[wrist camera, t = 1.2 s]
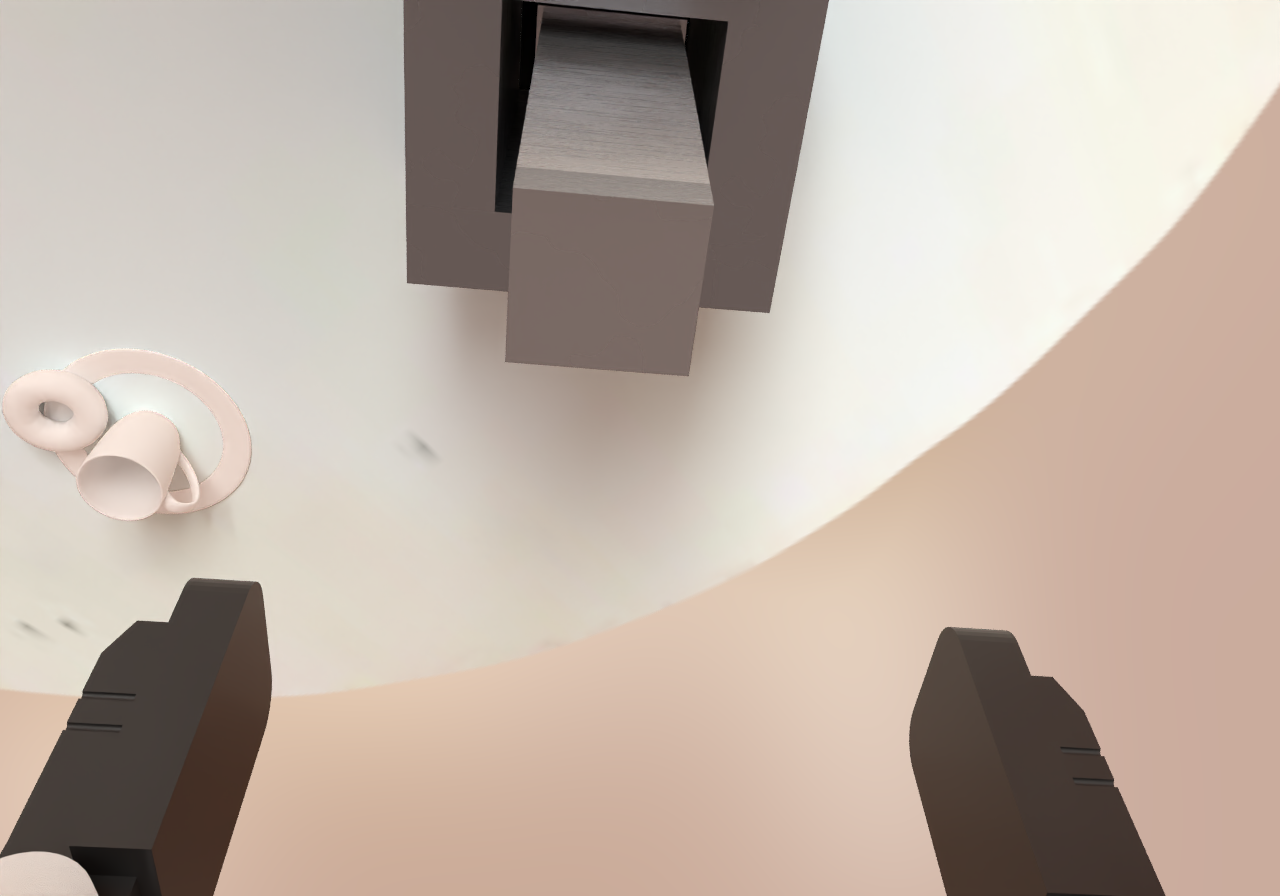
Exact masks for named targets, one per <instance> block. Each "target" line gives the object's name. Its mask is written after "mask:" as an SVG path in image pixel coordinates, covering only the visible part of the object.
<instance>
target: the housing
mask: <svg viewBox="0 0 1280 896" xmlns="http://www.w3.org/2000/svg"><path fill="white" fill-rule="evenodd" d="M523 1H532V2H542V3H551V4H561V5H571V6H581V7H591V8H600V9H610V10H620V11H630V12H640V13H649V14H659V15H669V16H679V17H689V18H691V19H690V27H689V35H688V43H687V51H686V56H687V61H688V67H689V72H690V77H691V83H692V88H693V94H694V99H695V105H696V110H697V115H698V121H699V126H700V132H701V137H702V143H703V148H704V153H705V159H706V164H707V170H708V175H709V181H710V186H711V192H712V197H713V202H714V210H713V216H712V223H711V230H710V236H709V243H708V250H707V256H706V263H705V270H704V276H703V283H702V290H701V296H700V303H699V307H703V308H715V309H727V310H739V311H752V312H764V313H770V307H771V302H772V297H773V292H774V286H775V281H776V276H777V270H778V265H779V260H780V255H781V249H782V244H783V239H784V234H785V228H786V223H787V218H788V213H789V207H790V202H791V197H792V192H793V186H794V181H795V176H796V171H797V165H798V160H799V155H800V150H801V144H802V139H803V134H804V129H805V123H806V118H807V113H808V108H809V102H810V97H811V92H812V86H813V81H814V76H815V71H816V65H817V60H818V55H819V50H820V44H821V39H822V34H823V29H824V23H825V18H826V13H827V8H828V2H829V0H404V78H405V157H406V235H407V283H412V284H424V285H436V286H448V287H460V288H472V289H484V290H497V291H508V289H509V266H510V243H511V220H512V197H513V184H514V178H515V173H516V167H517V161H518V155H519V149H520V144H521V138H522V132H523V126H524V120H525V115H526V109H527V103H528V97H529V92H530V90H524V89H519V75H520V53H521V30H522V8H523Z"/></svg>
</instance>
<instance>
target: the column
mask: <svg viewBox="0 0 1280 896" xmlns="http://www.w3.org/2000/svg"><path fill="white" fill-rule="evenodd" d="M686 27H687V17H679V16H669V15H659V14H649V13H640V12H630V11H620V10H610V9H600V8H591V7H581V6H571V5H561V4H551V3H542V2H538V11H537V31H536V50H535V63H534V68H533V74H532V80H531V86H530V92H529V97H528V103H527V109H526V115H525V120H524V126H523V132H522V138H521V144H520V149H519V155H518V161H517V167H516V173H515V178H514V184H513V197H512V220H511V243H510V266H509V289H508V312H507V335H506V358H505V362H513V363H526V364H538V365H551V366H564V367H577V368H590V369H603V370H616V371H629V372H642V373H654V374H667V375H680V376H689V369H690V363H691V356H692V349H693V343H694V336H695V329H696V323H697V316H698V310H699V303H700V296H701V290H702V283H703V276H704V270H705V263H706V256H707V250H708V243H709V236H710V230H711V223H712V216H713V210H714V202H713V197H712V192H711V186H710V181H709V175H708V170H707V164H706V159H705V153H704V148H703V143H702V137H701V132H700V126H699V121H698V115H697V110H696V105H695V99H694V94H693V88H692V83H691V77H690V72H689V67H688V61H687V56H686V50H685V45H684V43H685V35H686Z"/></svg>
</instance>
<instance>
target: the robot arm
mask: <svg viewBox="0 0 1280 896" xmlns="http://www.w3.org/2000/svg"><path fill="white" fill-rule="evenodd" d="M271 691H272V674H271V664H270V655H269V646H268V637H267V628H266V619H265V610H264V601H263V593H262V588H261V586H260V584H259V583H258V582H251V581H235V580H219V579H203V578H191V579H190V580H189V581H188V582H187V583H186V585H185V587H184V589H183V591H182V593H181V595H180V598H179V600H178V602H177V604H176V607H175V609H174V611H173V613H172V615H171V618H170V620H169V622H151V621H136V622H135V623H134V624H133V625H132V626H131V627H130V628H129V629H127V630H126V631H125V632H124V633H123V634H122V635H121V636H120V637H119V638H117V639H116V640H115V641H114V642H113V643H112V644H111V645H110V646H109V647H108V648H106V649H105V650H104V651H103V652H102V653H101V655H100V657H99V659H98V661H97V663H96V665H95V667H94V669H93V671H92V673H91V675H90V677H89V679H88V681H87V683H86V685H85V687H84V689H83V695H82V698H81V699H78V701H77V703H76V705H75V707H74V709H73V711H72V713H71V715H70V717H69V719H68V721H67V728H66V730H63V731H62V733H61V735H60V737H59V739H58V741H57V743H56V745H55V747H54V749H53V751H52V753H51V755H50V757H49V760H48V761H47V763H46V765H45V767H44V769H43V772H42V773H41V775H40V778H39V779H38V781H37V783H36V785H35V787H34V790H33V791H32V793H31V795H30V797H29V799H28V802H27V803H26V805H25V808H24V809H23V811H22V814H21V815H20V818H19V819H18V821H17V823H16V825H15V828H14V829H13V832H12V834H11V836H10V838H9V840H8V842H7V844H6V845H5V847H4V849H3V850H2V852H1V854H0V896H213V894H214V891H215V888H216V885H217V882H218V878H219V875H220V872H221V869H222V865H223V862H224V859H225V856H226V853H227V849H228V846H229V843H230V840H231V837H232V834H233V830H234V827H235V824H236V821H237V818H238V815H239V811H240V808H241V805H242V802H243V798H244V796H245V792H246V789H247V786H248V783H249V780H250V776H251V773H252V770H253V767H254V763H255V760H256V757H257V754H258V751H259V748H260V745H261V741H262V738H263V735H264V731H265V728H266V724H267V720H268V714H269V709H270V701H271ZM909 736H910V737H909V742H910V743H909V746H910V757H911V763H912V767H913V771H914V775H915V779H916V783H917V786H918V789H919V794H920V797H921V801H922V805H923V808H924V812H925V816H926V819H927V823H928V827H929V831H930V835H931V838H932V842H933V846H934V850H935V853H936V857H937V861H938V865H939V868H940V872H941V876H942V879H943V883H944V887H945V891H946V894H947V896H1165V894H1164V891H1163V889H1162V887H1161V884H1160V882H1159V880H1158V878H1157V876H1156V873H1155V871H1154V869H1153V866H1152V864H1151V862H1150V860H1149V857H1148V855H1147V853H1146V850H1145V848H1144V846H1143V844H1142V842H1141V839H1140V837H1139V835H1138V832H1137V830H1136V828H1135V826H1134V823H1133V821H1132V819H1131V817H1130V814H1129V812H1128V810H1127V807H1126V805H1125V803H1124V801H1123V798H1122V796H1121V794H1120V792H1119V789H1118V788H1117V787H1114V778H1113V776H1112V774H1111V771H1110V769H1109V767H1108V765H1107V762H1106V760H1105V758H1104V756H1101V755H1100V746H1099V744H1098V742H1097V740H1096V737H1095V735H1094V733H1093V730H1092V728H1091V726H1090V724H1089V722H1088V719H1087V717H1086V715H1085V712H1084V711H1083V710H1082V709H1081V707H1080V706H1079V705H1078V704H1077V703H1076V702H1075V701H1074V700H1073V699H1072V698H1071V697H1070V695H1068V693H1067V692H1066V691H1065V690H1064V689H1063V688H1062V687H1061V686H1060V685H1059V684H1058V683H1057V682H1056V681H1055V679H1054V678H1053V677H1043V676H1031V675H1030V672H1029V669H1028V667H1027V665H1026V662H1025V660H1024V657H1023V655H1022V652H1021V650H1020V647H1019V645H1018V642H1017V640H1016V638H1015V637H1014V636H1013V634H1012V633H1010V632H1009V631H1004V630H989V629H988V630H987V629H972V628H956V627H947V628H945V629H944V630H943V631H942V632H941V634H940V636H939V638H938V641H937V644H936V647H935V649H934V652H933V655H932V658H931V661H930V664H929V667H928V670H927V673H926V675H925V678H924V681H923V684H922V687H921V690H920V693H919V695H918V698H917V701H916V704H915V707H914V710H913V714H912V718H911V724H910V734H909Z"/></svg>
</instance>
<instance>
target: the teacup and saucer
mask: <svg viewBox="0 0 1280 896" xmlns="http://www.w3.org/2000/svg"><path fill="white" fill-rule="evenodd" d="M123 373H143V374H149V375H154V376H158V377H162V378H165V379H167V380H170V381H172V382H175V383H177V384H179V385H181V386H182V387H184V388H186V389H187V390H189V391H190V392H192V393H193V394H194V395H196V396H197V397H198V398H199V399H200V400H201V401H202V402H203V403H204V404H205V405H206V406H207V407H208V408H209V409H210V411H211V412H212V413H213V415H214V417H215V418H216V420H217V422H218V424H219V426H220V429H221V432H222V437H223V453H222V457H221V460H220V463H219V465H218V467H217V468H216V470H215V471H214V472H213V473H212V474H211V475H210V476H209V477H208V478H207V479H206V480H204V481H203V482H201V483H199V482H198V479H197V476H196V474H195V472H194V470H193V468H192V466H191V464H190V463H189V461H188V460H187V458H186V457H185V456H184V454H183V453H182V452H181V450H180V438H179V434H178V431H177V428H176V427H175V425H174V424H173V423H172V422H171V421H170V420H169V419H168V418H167V417H165V416H164V415H162V414H159V413H157V412H153V411H137V412H133V413H131V414H128V415H126V416H125V417H123V418H121V419H120V420H119V421H117V422H116V423H115V424H114V425H113V426H112V427H111V428H110V429H109V430H108V431H107V432H106V433H105V435H104V436H103V437H102V438H101V439H100V441H99V442H98V443H97V445H96V446H95V447H94V449H93V450H92V451H91V452H90V454H89V455H88V454H87V453H86V451H85V450H84V447H87V446H89V445H90V444H92V443H94V442H95V441H96V440H97V439H98V438H99V437H100V436H101V435H102V433H103V432H104V430H105V428H106V426H107V423H108V410H107V406H106V403H105V401H104V398H103V397H102V395H101V394H100V392H99V391H98V390H97V389H96V388H95V387H94V386H93V385H92V384H94V383H95V382H97V381H99V380H101V379H103V378H106V377H109V376H112V375H116V374H123ZM43 402H45V404H44V415H42V414H41V412H40V411H39V405H40V404H41V403H43ZM2 408H3V414H4V418H5V420H6V422H7V424H8V425H9V427H10V428H11V430H12V431H13V432H14V433H15V434H16V435H17V436H19V437H20V438H21V439H23V440H24V441H26V442H27V443H29V444H31V445H33V446H35V447H38V448H41V449H44V450H49V451H55V453H56V454H57V456H58V457H59V459H60V460H61V461H62V463H63V464H64V465H65V466H66V468H67V469H68V470H69V471H70V472H71V473H72V474H73V475H74V476H75V477H76V483H77V488H78V491H79V493H80V495H81V496H82V498H83V499H84V500H85V501H86V503H87V504H88V505H90V506H91V507H92V508H93V509H95V510H96V511H98V512H99V513H101V514H103V515H105V516H108V517H110V518H114V519H118V520H124V521H135V520H141V519H144V518H147V517H149V516H151V515H152V514H154V513H159V514H181V513H189V512H194V511H198V510H202V509H205V508H208V507H210V506H212V505H214V504H216V503H218V502H220V501H222V500H223V499H225V498H226V497H227V496H229V495H230V494H231V493H232V492H233V491H234V490H235V489H236V488H237V487H238V486H239V484H240V483H241V482H242V480H243V479H244V477H245V475H246V473H247V470H248V467H249V464H250V459H251V439H250V434H249V430H248V427H247V424H246V422H245V419H244V417H243V415H242V413H241V412H240V410H239V408H238V407H237V405H236V404H235V402H234V401H233V400H232V398H231V397H230V396H229V395H228V394H227V393H226V392H225V390H224V389H223V388H221V387H220V386H219V385H218V384H217V383H216V382H215V381H214V380H212V379H211V378H210V377H208V376H207V375H206V374H204V373H203V372H201V371H200V370H198V369H196V368H195V367H193V366H191V365H189V364H187V363H185V362H183V361H181V360H178V359H176V358H173V357H170V356H167V355H164V354H161V353H157V352H152V351H147V350H140V349H110V350H104V351H99V352H95V353H92V354H89V355H86V356H84V357H82V358H79V359H78V360H76V361H74V362H72V363H71V364H70V365H68V366H67V367H66V368H64V369H63V370H62V371H61V370H38V371H34V372H31V373H28V374H26V375H24V376H22V377H20V378H19V379H17V380H16V381H14V382H13V383H12V384H11V385H10V386H9V387H8V389H7V391H6V393H5V395H4V398H3V403H2ZM177 463H178V464H179V466H180V467H181V468H182V470H183V471H184V473H185V475H186V477H187V479H188V481H189V484H190V488H187V489H183V490H178V491H168V489H169V486H170V483H171V480H172V478H173V475H174V472H175V469H176V466H177Z"/></svg>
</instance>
